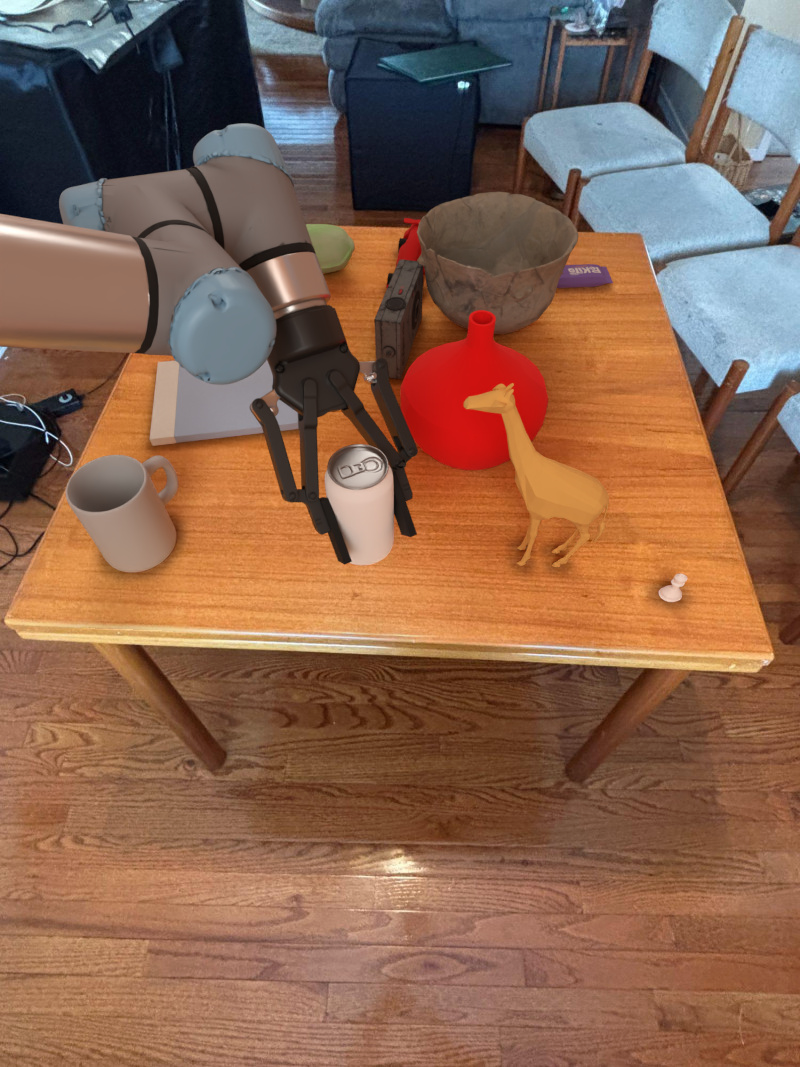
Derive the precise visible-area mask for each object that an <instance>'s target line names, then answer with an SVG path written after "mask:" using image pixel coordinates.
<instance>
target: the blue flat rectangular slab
mask: <svg viewBox="0 0 800 1067" xmlns="http://www.w3.org/2000/svg"><path fill="white" fill-rule="evenodd" d="M272 385H273V375H272V372H271V369H270V366H269V364H268V361H267V360H266V361H265V363H264V364H263V365H262V366H261V367H260V368H259V369H258V370H257V371H256V372H255V373H253V374H252V375H250V376H249V377H247V378H245V379H243V380H240V381H238V382H235V383H231V384H225V385H216V384H209V383H206V382H205V381H202V380H200V379H197V378H195V377H194V376H193V375H191V374H190V373H189V372H188V371H187V370H186V369H184V368H182V367H181V366H180V364H179V363H178V362H176V361H175V359H174V360H166V361H165V360H164V361H157V366H156V376H155V386H154V394H153V402H152V413H151V422H150V431H149V441H150V443H151V446H153V447H155V446H165V445H171V444H179V443H187V442H196V441H205V440H214V439H223V438H232V437H241V436H249V435H257V434H264V433H263V429H262V426H261V425H260V423H259V422H258V421H257V419H256V418H255V416H254V415H253V414H252V412H251V411H250V404H251V403H252V402H253V401H254V400H255V399H257V398H261V397H263V396H264V395H266V394H267V393H269V392H270V391H272ZM277 406H278V409H279V412H278V414H277V415H276V416H275V417H276V419H277V421H278V424H279V427H280V431H281V432H283V431H284V432H285V431H295V430H299V428H298V413H297V412H296V411H295V410H293V409H292V408H290V407H289V406H288V405H286V404H285V403H283V402H282V401H281V400H278V401H277Z"/></svg>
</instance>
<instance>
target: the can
mask: <svg viewBox="0 0 800 1067" xmlns="http://www.w3.org/2000/svg"><path fill="white" fill-rule="evenodd" d="M324 488H325V497H326V498H328V499H329V502H330V504H331V506H332V509H333V511H334V514H335V517H336V520H337V522H338V525H339V528H340V531H341V533H342V536H343V539H344V541H345V544H346V547H347V550H348V552H349V555H350V558H351V560H352V562H350V563H349V564H352V565H355V566H371V565H374V564H377V563H379V562H381V561H382V560H384V559H385V558H386V557H387V556H388V555H389V554H390V553H391V551H392V550H393V547H394V543H395V515H394V484H393V473H392V470H391V468H390V466H389V463H388V460H387V458H386V456H385V455H384V453H383V452H381V451H380V450H379V449H377V448H375V447H373V446H370V445H368V444H365V443H354V444H349V445H345V446H343V447H340V448H339V449H338V450H335V452H333V454H332V455H331V456H330V457H329V459H328V461H327V467H326V471H325V474H324Z"/></svg>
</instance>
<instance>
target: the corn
mask: <svg viewBox="0 0 800 1067" xmlns="http://www.w3.org/2000/svg"><path fill="white" fill-rule="evenodd" d="M305 224H306V227H307V230H308V233H309V236H310V239H311V242H312V246H313V248H314V250H315V253H316V256H317V258H318V261H319V264H320V267H321V269H322V272H323V274H330V273H335V272H338V271H340V270H343V269H344V268H346V267H347V265H348V264H349V262H350V260H351V258H352V257H353V256H352V255H353V253H354V251H355V248H356V245H355V241H354V240H353V238H352V237H351V236H350V235H349V234H348V233H347V231H346V230H345V229H344V228H342V227H341V226H338V225H334V224H326V223H305Z"/></svg>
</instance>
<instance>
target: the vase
mask: <svg viewBox="0 0 800 1067" xmlns="http://www.w3.org/2000/svg"><path fill="white" fill-rule="evenodd" d="M495 321H496V317H495V315H494V314H493V313H491V312H489V311H485V310H478V311H474V312H472V313H471V314H470V316H469V323H468V329H467V335H466V337H465V338H464V339H461V340H460V339H459V340H456V341H451V342H447V343H443V344H440V345H438V346H435V347H431V348H429V349H428V350H426V351H425V352H423V353H422V354H420V355H419V356H418V357H416V358H415V359H414V361H413V362H412V363H411V364H410V366H409V367H408V369H407V371H406V372H405V375H404V377H403V380H402V382H401V385H400V386H399V390H400V391H399V392H400V393H399V395H400V409H401V411H402V413H403V416H404V418H405V420H406V423H407V425H408V427H409V430H410V432H411V434H412V437H413V439H414V442H415V444H416V445H417V446H418V447H419V448H420V449H421V451H422V452H424V453H425V454H427V455H428V456H429V457H431V458H432V459H434V460H435V461H437V462H439V463H441V465H445V466H447V467H449V468H451V469H452V468H453V469H458V470H462V471H482V470H487V469H492V468H494V467H497V466H500V465H502V464H505V463H507V462H509V461H511V459H510V456H509V449H508V441H507V433H506V429H505V425H504V421H503V417H502V414H499V413H491V412H485V411H479V410H473V409H465V408H464V406H463V405H464V401H465V400H466V399H467V398H468V397H469V396H476V395H480V394H483V393H486V392H490V391H493V388H494V387H496V386H497V385H499V384H504V385H505V386H506V387H507V386H508V385H510V384H512V383H513V384H514V386H513V387H512V388H511V390H512V389H513V390H514V391H513V393H512V394H513V395H514V398H515V406H516V408H517V411H518V413H519V415H520V418H521V420H522V423H523V426H524V428H525V431H526V433H527V435H528V437H529V439H530V440H531V442H532V441H534V439H535V438H536V437H537V436H538V434H539V433H540V430H541V429H542V427H543V425H544V421H545V418H546V414H547V410H548V404H549V395H548V390H547V386H546V382H545V378H544V375H543V374H542V372H541V371H540V369H539V368H538V366H537V365H536V364H535V363H533V362H532V360H530V359H529V358H528V357H527V356H526V355H524V354H522V353H520V352H518V351H517V350H515V349H513V348H511V347H509V346H506V345H503V344H500V343H499V342H496V340H494V336H495V334H494V328H495Z"/></svg>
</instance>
